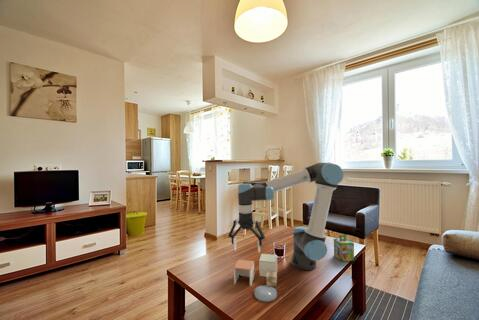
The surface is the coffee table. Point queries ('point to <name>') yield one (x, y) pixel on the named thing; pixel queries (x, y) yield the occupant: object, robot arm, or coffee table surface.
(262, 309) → the coffee table surface
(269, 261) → the pale green cube
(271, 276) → the block
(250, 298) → the coffee table surface
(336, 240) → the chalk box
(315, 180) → the robot arm
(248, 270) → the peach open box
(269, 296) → the dish
